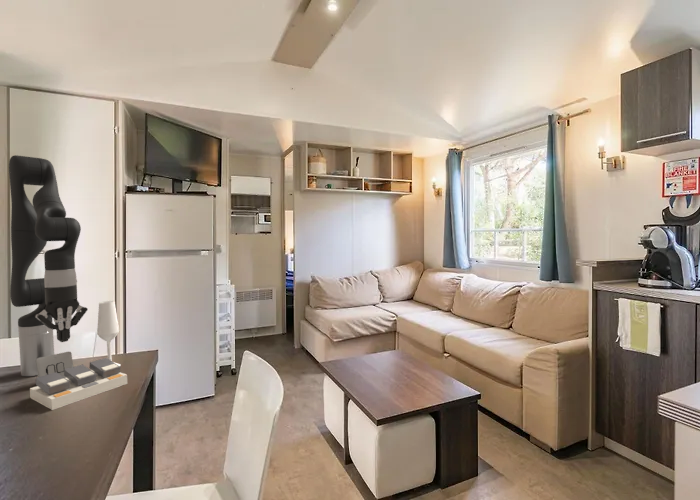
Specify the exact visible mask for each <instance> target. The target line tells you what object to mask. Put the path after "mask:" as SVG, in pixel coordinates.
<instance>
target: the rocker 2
mask: <svg viewBox="0 0 700 500" xmlns="http://www.w3.org/2000/svg"><path fill="white" fill-rule="evenodd" d="M114 362H115V361H113V360H112V361H111V360H109V359H108V357H104V358H100V359H97V360H96V359H95V360H93V361H90V362H89V366H88V368H89V369H90V370H93V371H94V372H96V373H97V374H98V375H100V376H101V377H103V378H105V377H108V376H111V375H114V374H117V373H120V372H121V366H118V365H117V364H115V363H116V362H115V363H114Z"/></svg>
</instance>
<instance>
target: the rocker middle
mask: <svg viewBox="0 0 700 500" xmlns="http://www.w3.org/2000/svg"><path fill="white" fill-rule="evenodd" d="M96 375H97V374H96V373H94V372H93V371H91V369H90V368H89V367H87V366H86V365H84V364H79V365H75V366H73V367H71V368H68V369H64V376H65V377H67V378H68V379H69V380H70V381H72V382H73V383H74V384H75V385H77V386H80V385H83V384H86V383H89V382H92V381H95V380H96Z"/></svg>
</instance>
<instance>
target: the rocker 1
mask: <svg viewBox="0 0 700 500" xmlns="http://www.w3.org/2000/svg"><path fill="white" fill-rule="evenodd" d="M35 385H36V386H38V387H40V388H41V389H42V390H44V391H45V392H46V393H47V394H49V395H50V394H53V393H56V392H59V391H62V390H65V389H68V388H70V381H68V380H67V379H65V378H64V377H62V376H61V375H60V374H58V373H57V372H55V373H52V374H48V375H45V376H41V377H38V376H37V377H36V378H35Z"/></svg>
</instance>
